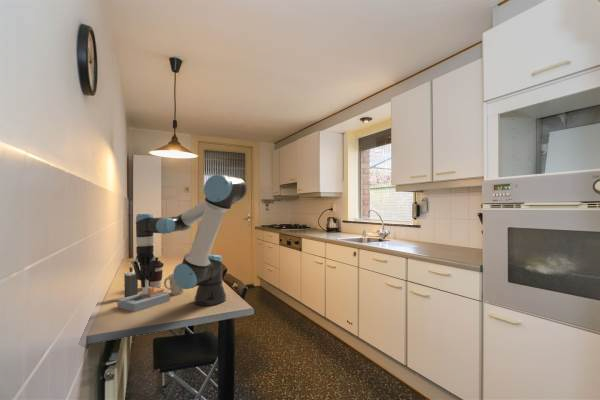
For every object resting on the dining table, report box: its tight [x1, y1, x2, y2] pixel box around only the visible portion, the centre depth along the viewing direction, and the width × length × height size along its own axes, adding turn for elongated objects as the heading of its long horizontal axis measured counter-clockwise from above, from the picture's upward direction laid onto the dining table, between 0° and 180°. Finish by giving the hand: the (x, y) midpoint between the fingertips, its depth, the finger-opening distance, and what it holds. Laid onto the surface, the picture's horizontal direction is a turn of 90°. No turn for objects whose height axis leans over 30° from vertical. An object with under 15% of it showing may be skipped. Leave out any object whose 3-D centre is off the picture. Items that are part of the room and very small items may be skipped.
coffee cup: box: [149, 260, 164, 288], centre depth 180 cm, size 10×10×15 cm
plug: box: [123, 266, 139, 298], centre depth 161 cm, size 5×5×16 cm
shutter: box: [141, 287, 165, 296], centre depth 155 cm, size 7×7×4 cm
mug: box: [163, 273, 185, 296], centre depth 168 cm, size 8×13×10 cm, turn 78°
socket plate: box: [116, 291, 171, 313], centre depth 150 cm, size 14×18×4 cm
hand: (145, 293), depth 151 cm, fingers closed
